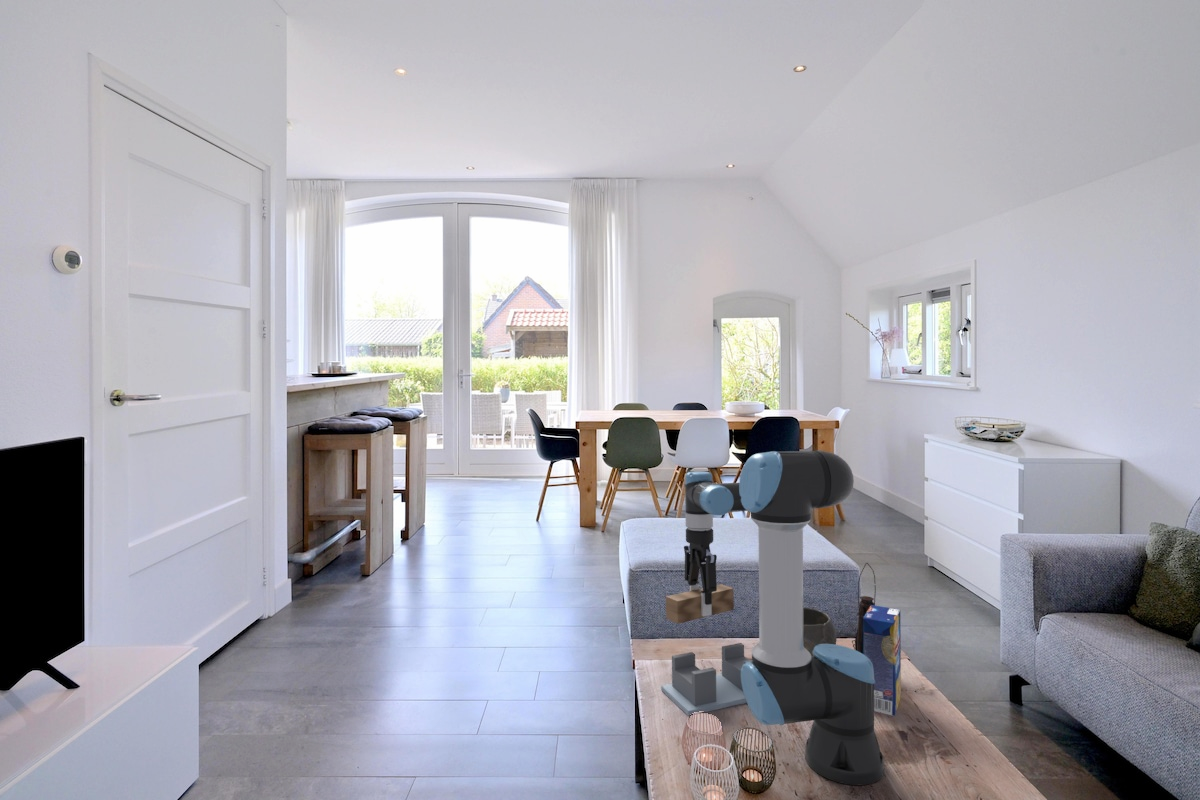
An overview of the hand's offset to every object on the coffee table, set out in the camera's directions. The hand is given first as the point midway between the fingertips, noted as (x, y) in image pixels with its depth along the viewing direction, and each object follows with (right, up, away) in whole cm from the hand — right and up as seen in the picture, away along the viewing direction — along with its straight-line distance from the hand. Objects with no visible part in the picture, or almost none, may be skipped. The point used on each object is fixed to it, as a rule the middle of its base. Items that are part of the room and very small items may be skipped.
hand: (700, 611), depth 174 cm
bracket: (+3, -16, -13) cm, 21 cm away
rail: (0, -1, 0) cm, 1 cm away
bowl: (+30, -16, +7) cm, 35 cm away
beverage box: (+42, -16, -19) cm, 49 cm away
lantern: (+45, -16, -2) cm, 48 cm away
